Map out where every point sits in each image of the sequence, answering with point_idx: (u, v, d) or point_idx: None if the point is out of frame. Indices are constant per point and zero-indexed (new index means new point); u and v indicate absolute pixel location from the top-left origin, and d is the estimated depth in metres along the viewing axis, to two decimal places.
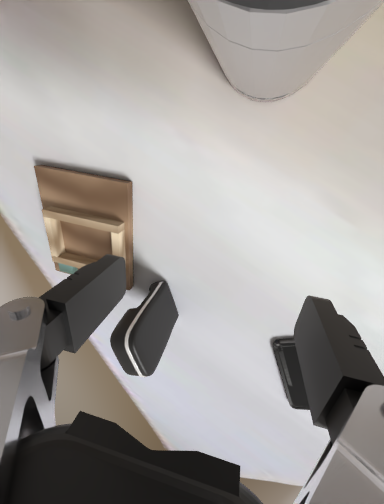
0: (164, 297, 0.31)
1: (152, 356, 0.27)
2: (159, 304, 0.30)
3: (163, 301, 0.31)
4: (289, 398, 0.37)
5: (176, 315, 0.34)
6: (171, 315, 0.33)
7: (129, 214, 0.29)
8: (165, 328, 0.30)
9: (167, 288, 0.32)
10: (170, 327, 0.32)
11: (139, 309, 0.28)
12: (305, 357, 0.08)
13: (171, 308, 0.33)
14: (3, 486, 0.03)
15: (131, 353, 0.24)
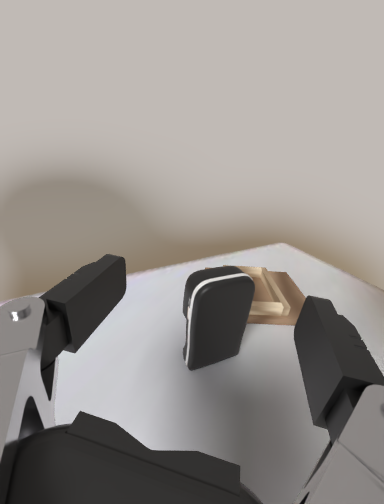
0: (233, 344, 0.25)
1: (214, 303, 0.21)
2: (237, 334, 0.25)
3: (232, 341, 0.25)
4: None
5: (197, 364, 0.24)
6: (207, 353, 0.24)
7: (294, 321, 0.32)
8: (210, 336, 0.23)
9: (234, 353, 0.26)
10: (200, 347, 0.23)
11: None
12: (305, 357, 0.08)
13: (212, 355, 0.25)
14: (3, 486, 0.03)
15: (240, 276, 0.22)
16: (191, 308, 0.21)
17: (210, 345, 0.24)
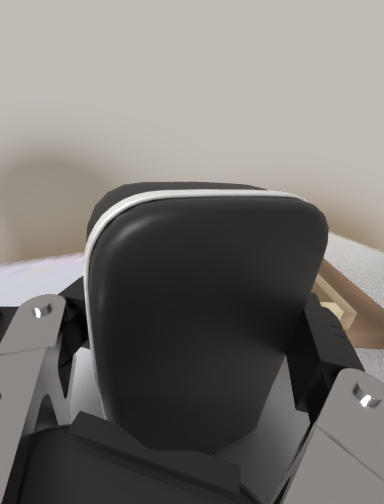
0: (247, 412, 0.09)
1: (181, 295, 0.05)
2: (258, 386, 0.09)
3: (245, 406, 0.09)
4: None
5: None
6: (173, 450, 0.08)
7: (363, 340, 0.16)
8: (177, 408, 0.07)
9: (247, 428, 0.10)
10: (145, 444, 0.07)
11: None
12: (291, 347, 0.08)
13: (190, 450, 0.09)
14: None
15: (281, 197, 0.06)
16: None
17: (179, 430, 0.08)
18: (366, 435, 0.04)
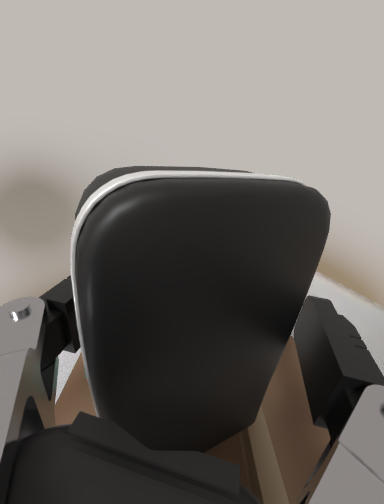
0: (245, 407, 0.09)
1: (176, 283, 0.05)
2: (257, 381, 0.09)
3: (243, 401, 0.09)
4: None
5: None
6: (169, 448, 0.08)
7: None
8: (173, 404, 0.07)
9: (246, 424, 0.10)
10: (140, 442, 0.07)
11: None
12: (305, 357, 0.08)
13: (187, 447, 0.08)
14: (3, 486, 0.03)
15: (281, 181, 0.06)
16: (76, 309, 0.05)
17: (176, 427, 0.07)
18: None
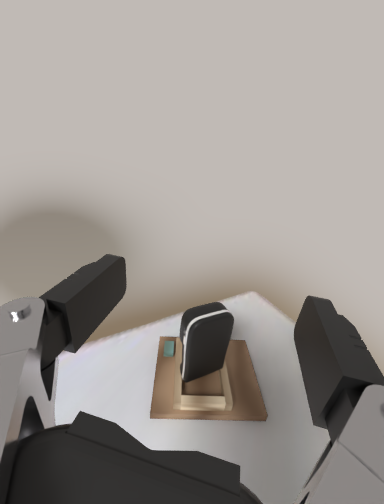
0: (218, 361, 0.33)
1: (203, 333, 0.29)
2: (221, 353, 0.32)
3: (218, 359, 0.33)
4: None
5: (190, 378, 0.32)
6: (198, 369, 0.32)
7: (238, 417, 0.31)
8: (200, 357, 0.31)
9: (219, 367, 0.34)
10: (193, 365, 0.31)
11: None
12: (305, 357, 0.08)
13: (202, 370, 0.32)
14: (3, 486, 0.03)
15: (222, 313, 0.29)
16: (186, 337, 0.29)
17: (200, 363, 0.31)
18: None
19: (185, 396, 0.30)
